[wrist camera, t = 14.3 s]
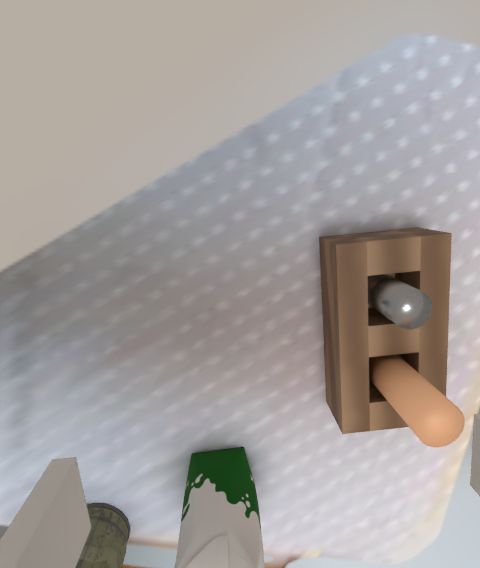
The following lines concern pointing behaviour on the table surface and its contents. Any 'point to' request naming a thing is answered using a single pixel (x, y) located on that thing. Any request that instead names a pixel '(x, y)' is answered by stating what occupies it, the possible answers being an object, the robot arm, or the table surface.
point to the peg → (416, 401)
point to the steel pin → (399, 301)
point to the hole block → (380, 319)
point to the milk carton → (220, 514)
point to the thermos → (105, 538)
